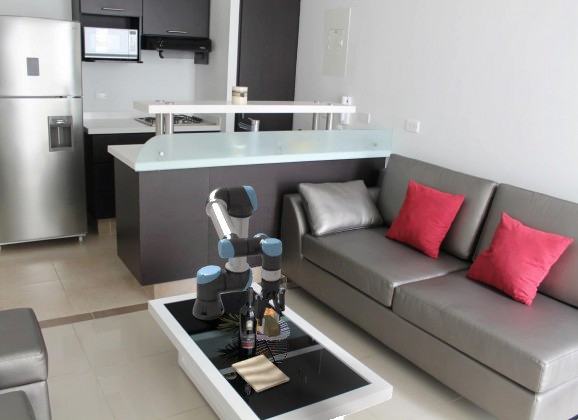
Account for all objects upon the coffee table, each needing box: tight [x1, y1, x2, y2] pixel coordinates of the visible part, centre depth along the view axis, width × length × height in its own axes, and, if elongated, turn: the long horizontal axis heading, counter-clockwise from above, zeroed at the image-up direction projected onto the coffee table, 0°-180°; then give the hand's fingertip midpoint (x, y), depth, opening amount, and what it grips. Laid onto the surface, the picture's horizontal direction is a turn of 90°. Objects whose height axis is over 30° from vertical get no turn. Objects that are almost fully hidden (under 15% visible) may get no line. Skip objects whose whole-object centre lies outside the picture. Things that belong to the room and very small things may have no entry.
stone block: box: [256, 314, 282, 338], centre depth 221 cm, size 6×12×5 cm, turn 28°
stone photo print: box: [231, 354, 290, 393], centre depth 222 cm, size 20×15×1 cm
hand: (268, 330), depth 222 cm, fingers closed on stone block, 6 cm apart
